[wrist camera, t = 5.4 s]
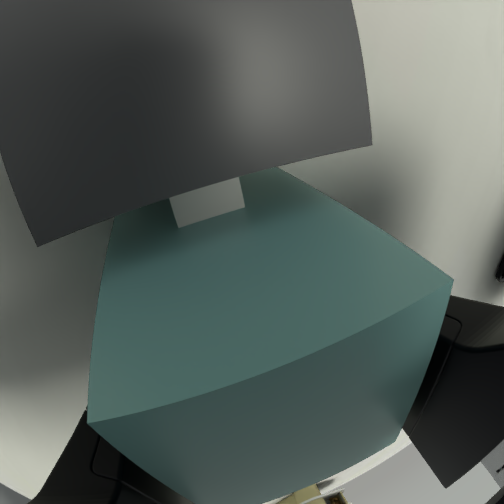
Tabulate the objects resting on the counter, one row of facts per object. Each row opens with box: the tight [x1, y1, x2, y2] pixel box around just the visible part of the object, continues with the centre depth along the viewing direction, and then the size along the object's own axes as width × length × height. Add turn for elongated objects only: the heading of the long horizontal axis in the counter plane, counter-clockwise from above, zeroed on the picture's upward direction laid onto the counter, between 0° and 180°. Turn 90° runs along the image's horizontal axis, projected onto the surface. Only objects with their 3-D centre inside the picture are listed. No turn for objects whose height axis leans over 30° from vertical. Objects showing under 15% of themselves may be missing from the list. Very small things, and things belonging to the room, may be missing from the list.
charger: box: [87, 167, 454, 504], centre depth 6 cm, size 8×4×6 cm, turn 11°
